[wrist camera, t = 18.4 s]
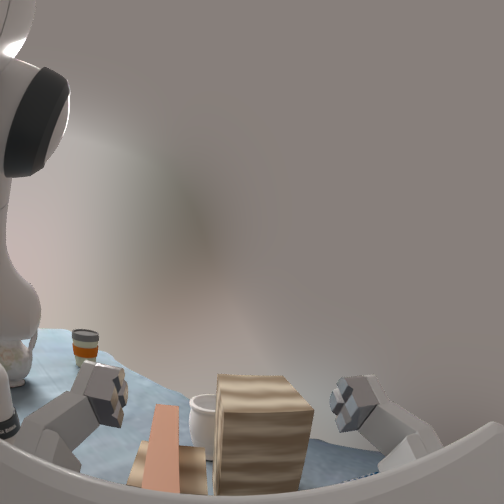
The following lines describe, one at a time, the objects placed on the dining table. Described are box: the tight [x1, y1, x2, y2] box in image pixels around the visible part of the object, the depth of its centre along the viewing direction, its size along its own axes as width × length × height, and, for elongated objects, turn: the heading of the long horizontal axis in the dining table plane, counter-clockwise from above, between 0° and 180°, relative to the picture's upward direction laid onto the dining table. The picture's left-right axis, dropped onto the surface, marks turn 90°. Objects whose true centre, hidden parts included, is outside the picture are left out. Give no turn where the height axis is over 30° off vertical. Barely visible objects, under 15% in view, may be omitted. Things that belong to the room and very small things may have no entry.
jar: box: [189, 394, 216, 461], centre depth 56 cm, size 11×10×15 cm
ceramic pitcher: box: [0, 331, 37, 388], centre depth 61 cm, size 22×20×25 cm
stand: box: [212, 374, 314, 496], centre depth 38 cm, size 16×12×26 cm
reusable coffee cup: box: [72, 329, 99, 367], centre depth 99 cm, size 12×13×15 cm
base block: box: [126, 440, 208, 495], centre depth 28 cm, size 12×10×16 cm
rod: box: [141, 404, 180, 493], centre depth 28 cm, size 28×4×4 cm, turn 13°
